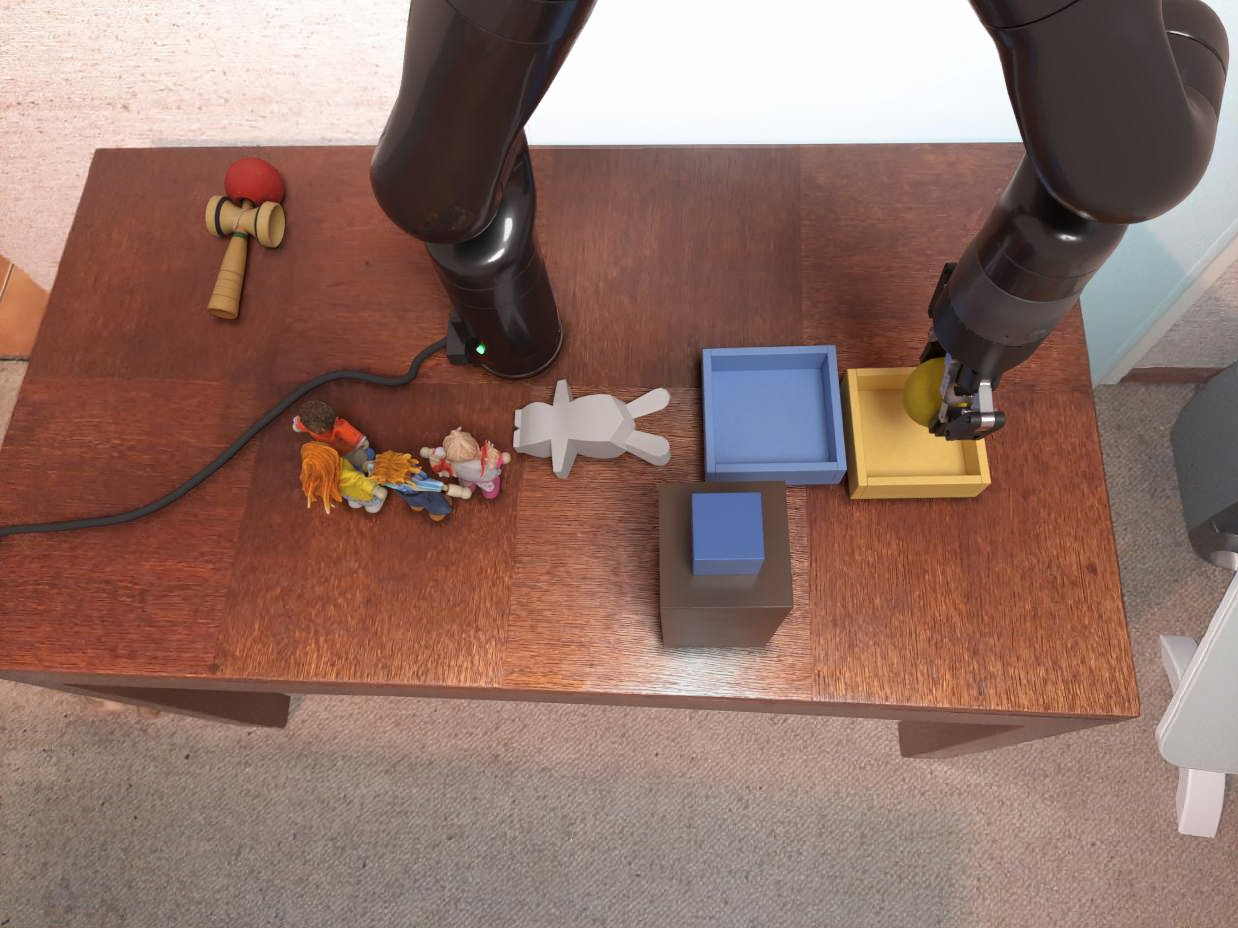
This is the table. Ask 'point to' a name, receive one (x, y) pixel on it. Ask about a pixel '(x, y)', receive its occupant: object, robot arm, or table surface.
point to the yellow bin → (901, 444)
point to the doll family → (389, 466)
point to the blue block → (727, 533)
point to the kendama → (243, 225)
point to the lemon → (925, 391)
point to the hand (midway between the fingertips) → (936, 396)
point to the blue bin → (772, 415)
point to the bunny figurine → (589, 428)
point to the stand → (722, 602)
